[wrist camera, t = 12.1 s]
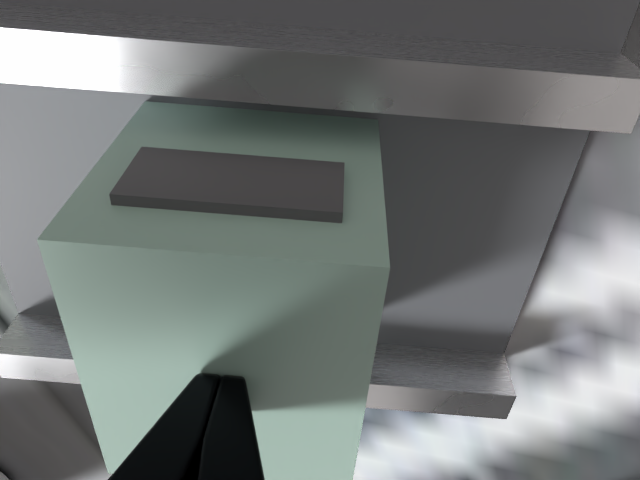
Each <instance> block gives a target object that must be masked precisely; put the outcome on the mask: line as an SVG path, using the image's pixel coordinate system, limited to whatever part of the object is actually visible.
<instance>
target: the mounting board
mask: <svg viewBox="0 0 640 480" xmlns="http://www.w3.org/2000/svg"><path fill="white" fill-rule="evenodd" d="M639 4H640V0H0V264H1V267H2V270H3V272H4V275H5V278H6V281H7V283H8V286H9V289H10V292H11V295H12V297H13V300H14V303H15V306H16V308H17V311H18V315H17V316H16V317H15V319H14V320H13V322H12V323H11V325H10V326H9V327H8V329H7V330H6V332H5V333H4V335H3V336H2V337H1V339H0V376H1V378H13V379H26V380H38V381H50V382H62V383H74V384H81V383H80V380H79V376H78V373H77V370H76V366H75V363H74V360H73V357H72V353H71V350H70V347H69V344H68V340H67V337H66V334H65V330H64V327H63V324H62V321H61V317H60V314H59V311H58V307H57V304H56V301H55V298H54V294H53V291H52V288H51V285H50V281H49V278H48V275H47V271H46V268H45V265H44V262H43V258H42V255H41V252H40V248H39V245H38V242H37V239H38V237H39V236H40V235H41V234H42V232H43V231H44V230H45V229H46V227H47V226H48V225H49V223H50V222H51V221H52V220H53V218H54V217H55V216H56V214H57V213H58V212H59V211H60V209H61V208H62V207H63V205H64V204H65V203H66V202H67V200H68V199H69V198H70V197H71V195H72V194H73V193H74V191H75V190H76V189H77V188H78V186H79V185H80V184H81V182H82V181H83V180H84V179H85V177H86V176H87V175H88V173H89V172H90V171H91V170H92V168H93V167H94V166H95V165H96V163H97V162H98V161H99V159H100V158H101V157H102V156H103V154H104V153H105V152H106V150H107V149H108V148H109V147H110V145H111V144H112V143H113V141H114V140H115V139H116V138H117V136H118V135H119V134H120V133H121V131H122V130H123V129H124V127H125V126H126V125H127V124H128V122H129V121H130V120H131V118H132V117H133V116H134V115H135V113H136V112H137V111H138V109H139V108H140V107H141V106H142V104H143V103H144V102H145V101H149V102H162V103H174V104H187V105H200V106H213V107H225V108H238V109H251V110H264V111H277V112H289V113H302V114H315V115H328V116H340V117H353V118H366V119H378V124H379V137H380V149H381V161H382V173H383V185H384V198H385V210H386V222H387V234H388V247H389V259H390V272H389V278H388V283H387V289H386V294H385V300H384V306H383V311H382V317H381V323H380V328H379V334H378V340H377V345H376V351H375V356H374V362H373V368H372V373H371V379H370V385H369V390H368V396H367V402H366V407H365V408H377V409H389V410H401V411H414V412H426V413H438V414H450V415H462V416H474V417H486V418H498V419H507V417H508V414H509V412H510V410H511V407H512V405H513V403H514V401H515V398H516V393H515V390H514V386H513V383H512V379H511V376H510V372H509V369H508V365H507V362H506V358H505V355H504V352H505V350H506V347H507V344H508V342H509V339H510V337H511V334H512V332H513V329H514V326H515V324H516V321H517V319H518V316H519V313H520V311H521V308H522V306H523V303H524V301H525V298H526V295H527V293H528V290H529V288H530V285H531V282H532V280H533V277H534V275H535V272H536V270H537V267H538V264H539V262H540V259H541V257H542V254H543V252H544V249H545V246H546V244H547V241H548V239H549V236H550V233H551V231H552V228H553V226H554V223H555V221H556V218H557V215H558V213H559V210H560V208H561V205H562V202H563V200H564V197H565V195H566V192H567V190H568V187H569V184H570V182H571V179H572V177H573V174H574V171H575V169H576V166H577V164H578V161H579V159H580V156H581V153H582V151H583V148H584V146H585V143H586V141H587V138H588V135H589V133H590V130H591V131H603V132H616V133H628V134H631V133H632V130H633V128H634V126H635V124H636V121H637V119H638V117H639V114H640V68H638V67H637V66H636V65H635V64H634V63H632V62H631V61H630V60H629V59H628V58H626V57H625V56H624V55H623V54H622V53H621V50H622V48H623V45H624V42H625V40H626V37H627V35H628V32H629V30H630V27H631V24H632V22H633V19H634V17H635V14H636V11H637V9H638V6H639Z"/></svg>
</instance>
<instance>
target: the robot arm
mask: <svg viewBox="0 0 640 480" xmlns="http://www.w3.org/2000/svg"><path fill="white" fill-rule="evenodd" d="M108 480H265V478H264V472H263V467H262V462H261V457H260V452H259V446H258V441H257V436H256V431H255V425H254V420H253V415H252V410H251V405H250V399H249V394H248V389H247V384H246V380H245V378H244V377H242V376H232V375H224V376H222V378H221V376H220V375H217V374H208V373H199V374H197V375H195V376H194V377H193V379H192V380H191V381H190V382H189V383H188V385H187V386H186V387H185V388H184V389H183V390H182V392H181V393H180V394H179V395H178V396H177V398H176V399H175V400H174V401H173V402H172V404H171V405H170V406H169V407H168V408H167V410H166V411H165V412H164V413H163V414H162V416H161V417H160V418H159V419H158V420H157V422H156V423H155V424H154V425H153V426H152V428H151V429H150V430H149V431H148V432H147V433H146V435H145V436H144V437H143V438H142V439H141V441H140V442H139V443H138V444H137V445H136V447H135V448H134V449H133V450H132V451H131V453H130V454H129V455H128V456H127V457H126V459H125V460H124V461H123V462H122V463H121V465H120V466H119V467H118V468H117V469H116V471H115V472H114V473H113V474H112V475H111V476H110V478H109V479H108Z"/></svg>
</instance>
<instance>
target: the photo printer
mask: <svg viewBox="0 0 640 480" xmlns="http://www.w3.org/2000/svg"><path fill="white" fill-rule="evenodd" d="M0 480H9V479H8V478H7V477H6V476H5V475H4V474H3V473H1V472H0Z"/></svg>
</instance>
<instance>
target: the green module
mask: <svg viewBox="0 0 640 480" xmlns="http://www.w3.org/2000/svg"><path fill="white" fill-rule="evenodd" d="M37 242H38V245H39V248H40V252H41V255H42V258H43V262H44V265H45V268H46V271H47V275H48V278H49V281H50V285H51V288H52V291H53V294H54V298H55V301H56V304H57V307H58V311H59V314H60V317H61V321H62V324H63V327H64V330H65V334H66V337H67V340H68V344H69V347H70V350H71V353H72V357H73V360H74V363H75V366H76V370H77V373H78V376H79V380H80V383H81V386H82V389H83V393H84V396H85V399H86V403H87V406H88V409H89V412H90V416H91V419H92V422H93V425H94V429H95V432H96V435H97V439H98V442H99V445H100V448H101V452H102V455H103V458H104V462H105V465H106V468H107V471H108V473H111V474H113V473H114V472H115V471H116V469H117V468H118V467H119V466H120V465H121V463H122V462H123V461H124V460H125V459H126V457H127V456H128V455H129V454H130V453H131V451H132V450H133V449H134V448H135V447H136V445H137V444H138V443H139V442H140V441H141V439H142V438H143V437H144V436H145V435H146V433H147V432H148V431H149V430H150V429H151V428H152V426H153V425H154V424H155V423H156V422H157V420H158V419H159V418H160V417H161V416H162V414H163V413H164V412H165V411H166V410H167V408H168V407H169V406H170V405H171V404H172V402H173V401H174V400H175V399H176V398H177V396H178V395H179V394H180V393H181V392H182V390H183V389H184V388H185V387H186V386H187V385H188V383H189V382H190V381H191V380H192V379H193V377H194V376H195V375H197V374H199V373H208V374H217V375H220V376H221V378H222V376H224V375H232V376H242V377H244V378H245V380H246V384H247V389H248V394H249V399H250V405H251V410H252V415H253V420H254V425H255V431H256V436H257V441H258V446H259V452H260V457H261V462H262V467H263V472H264V478H265V480H353V475H354V469H355V463H356V458H357V452H358V447H359V441H360V435H361V430H362V424H363V418H364V413H365V407H366V402H367V396H368V390H369V385H370V379H371V373H372V368H373V362H374V356H375V351H376V345H377V340H378V334H379V328H380V323H381V317H382V311H383V306H384V300H385V294H386V289H387V283H388V278H389V272H390V259H389V247H388V234H387V222H386V210H385V198H384V185H383V173H382V161H381V149H380V137H379V124H378V119H366V118H353V117H340V116H328V115H315V114H302V113H289V112H277V111H264V110H251V109H238V108H225V107H213V106H200V105H187V104H174V103H162V102H149V101H145V102H144V103H143V104H142V106H141V107H140V108H139V109H138V111H137V112H136V113H135V115H134V116H133V117H132V118H131V120H130V121H129V122H128V124H127V125H126V126H125V127H124V129H123V130H122V131H121V133H120V134H119V135H118V136H117V138H116V139H115V140H114V141H113V143H112V144H111V145H110V147H109V148H108V149H107V150H106V152H105V153H104V154H103V156H102V157H101V158H100V159H99V161H98V162H97V163H96V165H95V166H94V167H93V168H92V170H91V171H90V172H89V173H88V175H87V176H86V177H85V179H84V180H83V181H82V182H81V184H80V185H79V186H78V188H77V189H76V190H75V191H74V193H73V194H72V195H71V197H70V198H69V199H68V200H67V202H66V203H65V204H64V205H63V207H62V208H61V209H60V211H59V212H58V213H57V214H56V216H55V217H54V218H53V220H52V221H51V222H50V223H49V225H48V226H47V227H46V229H45V230H44V231H43V232H42V234H41V235H40V236H39V237H38V239H37Z"/></svg>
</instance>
